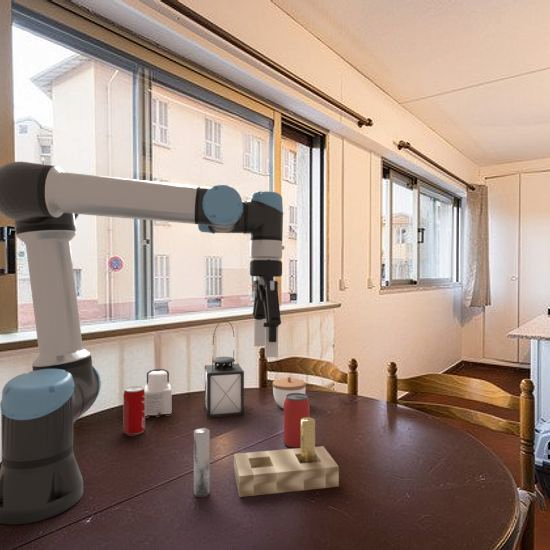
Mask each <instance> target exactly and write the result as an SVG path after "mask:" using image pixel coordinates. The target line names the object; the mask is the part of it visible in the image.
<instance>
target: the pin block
mask: <svg viewBox="0 0 550 550" xmlns="http://www.w3.org/2000/svg"><path fill="white" fill-rule="evenodd" d="M233 473H234V478H235V483H236V488H237V492H238V493H237V494H238V497H239V498H243V497H244V498H245V497H250V496H251V497H253V496H261V495H262V496H263V495H271V494H273V495H274V494H280V493H290V492H299V491H309V490H317V489H327V488H328V489H329V488H336V487H337V488H338V487H339V485H340V482H339V481H340V480H339V478H340V476H339V475H340V466H339V465H338V464H337V462H336V461H335V460H334V458H333V457H332V456H331V454H330V453H329V452H328V451H327V449H326V448H325V446H323V445H321V446H315V462H312V463H302V464H301V448H288V449H287V448H284V449H273V450H265V451H264V450H263V451H262V450H261V451H253V452H251V451H250V452H242V453H241V452H240V453H234V454H233Z"/></svg>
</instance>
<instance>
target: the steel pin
mask: <svg viewBox="0 0 550 550" xmlns="http://www.w3.org/2000/svg"><path fill="white" fill-rule="evenodd" d="M210 432H211V431H210V430H209V428H204V427H201V428H197V429H195V430H194V431H193V495H194V496H195V497H197V498H198V497H199V498H204V497H207V496H208V495H209V494H210V493H211V492H210V490H211V489H210V488H211V487H210V474H211V473H210V462H211V461H210V460H211V458H210V454H211V453H210V451H211V449H210V444H211V443H210V435H211V434H210Z"/></svg>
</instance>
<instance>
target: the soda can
mask: <svg viewBox="0 0 550 550" xmlns="http://www.w3.org/2000/svg"><path fill="white" fill-rule="evenodd" d="M122 400H123V402H122V403H123V405H122V406H123V408H122V411H123V413H122V415H123V422H122V423H123V428H122V429H123V433H124V434H125V433H126V434H138V433H141V432H142V433H144V432H145V429H146V417H145V386H142V385H134V386H128V387H125V388H124V391H123V399H122ZM142 433H141V434H142ZM126 434H125V435H126ZM138 435H139V434H138Z"/></svg>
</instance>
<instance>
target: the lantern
mask: <svg viewBox="0 0 550 550" xmlns="http://www.w3.org/2000/svg"><path fill="white" fill-rule="evenodd" d="M223 322H225V323H226V322H227V323H229V324H230V326H231V328H232V333H233V336H235V332H234V331H235V330H234V328H233V327H234V326H233V325H232V323H231V322H230V321H228V320H223V321H220V322H218V324H217V325H216V327H215V328H214V331H213V332H214V333H213V335H215V333H216V330H217V328H218V327H219V325H220V324H221V323H223ZM212 338H213V340H212V344H214V341H215V336H213V337H212ZM235 361H236V359H235V351H233V357H232V356H218V357H215V358H212V364H207V365H206V364H205V365H204V407H205V406H206V407H205V411H206V410H207V411H206V418H207V417H210V418H219V417H218V416H222V417H230V416H231V417H232V415H234V416H244V415H245V370H243V368H242V367H241V366H240V363H235Z"/></svg>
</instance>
